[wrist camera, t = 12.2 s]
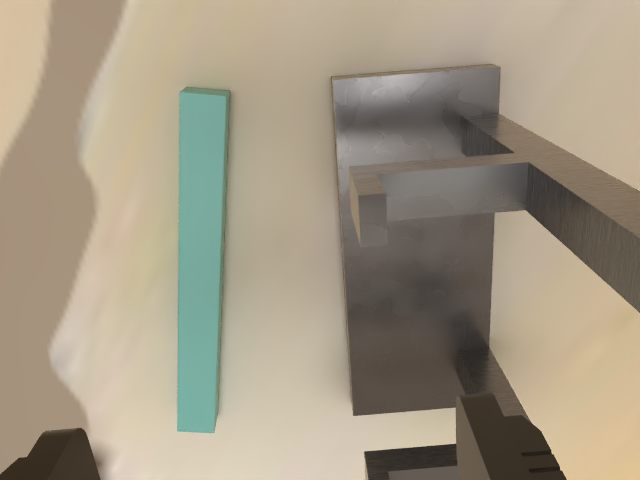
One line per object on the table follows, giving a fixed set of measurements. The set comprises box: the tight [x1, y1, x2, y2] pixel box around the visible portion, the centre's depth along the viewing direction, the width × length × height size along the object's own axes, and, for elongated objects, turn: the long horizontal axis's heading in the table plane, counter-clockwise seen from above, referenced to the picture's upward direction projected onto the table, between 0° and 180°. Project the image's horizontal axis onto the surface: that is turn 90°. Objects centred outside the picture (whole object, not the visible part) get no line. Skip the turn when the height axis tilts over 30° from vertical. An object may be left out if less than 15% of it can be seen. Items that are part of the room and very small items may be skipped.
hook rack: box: [331, 64, 640, 480], centre depth 27 cm, size 9×22×22 cm, turn 4°
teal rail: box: [177, 87, 230, 433], centre depth 36 cm, size 2×22×2 cm, turn 175°
